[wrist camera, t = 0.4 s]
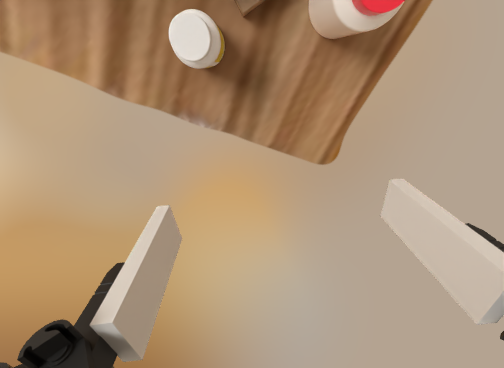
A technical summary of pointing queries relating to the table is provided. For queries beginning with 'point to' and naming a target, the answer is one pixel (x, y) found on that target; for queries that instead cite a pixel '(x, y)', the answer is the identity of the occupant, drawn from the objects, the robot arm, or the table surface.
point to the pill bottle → (350, 16)
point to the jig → (247, 5)
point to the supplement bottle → (196, 39)
